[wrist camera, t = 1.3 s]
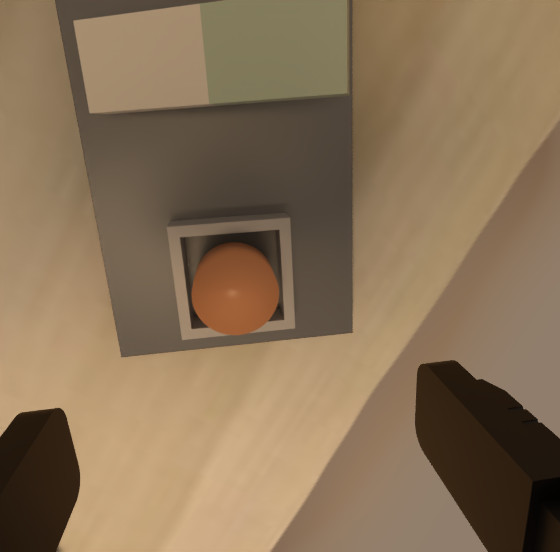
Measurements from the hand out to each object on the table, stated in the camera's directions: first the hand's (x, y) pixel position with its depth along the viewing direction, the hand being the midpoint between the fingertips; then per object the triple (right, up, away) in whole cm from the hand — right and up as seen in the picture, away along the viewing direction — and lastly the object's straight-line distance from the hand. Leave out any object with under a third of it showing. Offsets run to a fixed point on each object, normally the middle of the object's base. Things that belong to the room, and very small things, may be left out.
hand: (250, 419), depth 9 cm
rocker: (-2, +11, +7) cm, 13 cm away
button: (-1, +3, +10) cm, 11 cm away
